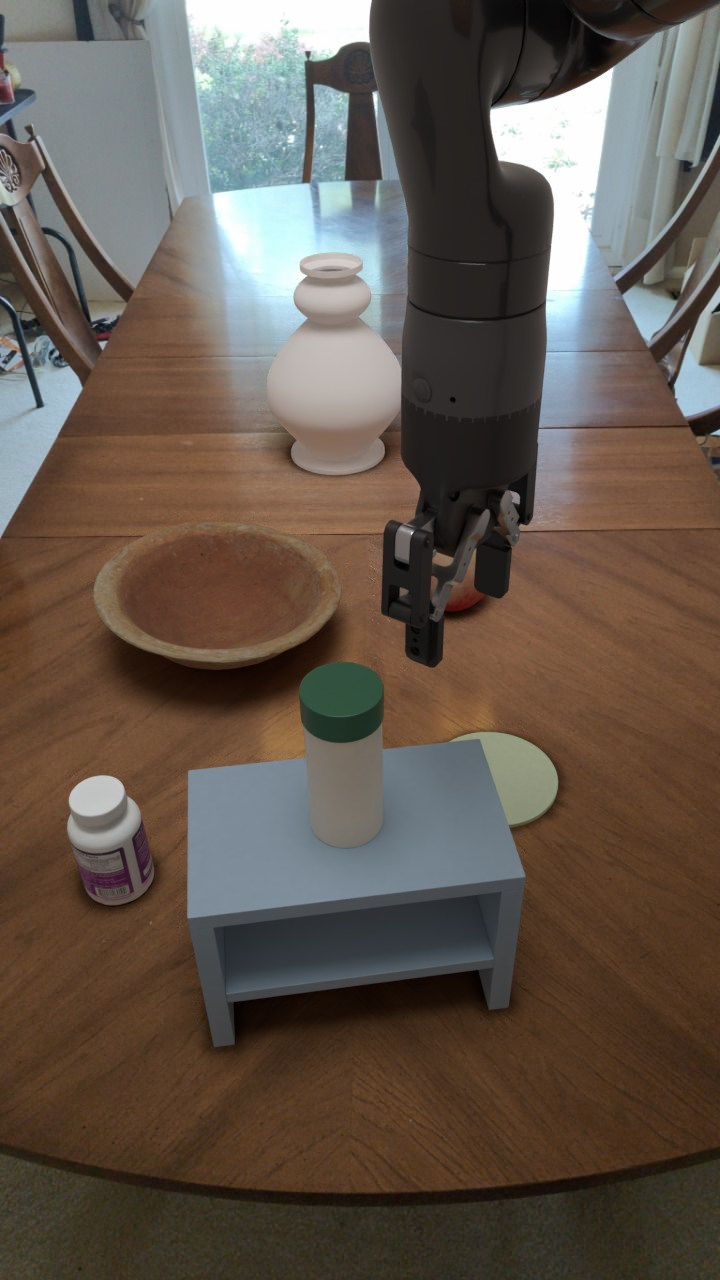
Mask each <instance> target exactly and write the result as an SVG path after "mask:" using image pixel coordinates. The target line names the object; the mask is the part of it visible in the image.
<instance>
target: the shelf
mask: <svg viewBox="0 0 720 1280" xmlns="http://www.w3.org/2000/svg"><path fill="white" fill-rule="evenodd" d="M186 858H187V862H186V864H187V865H186V866H187V868H186V869H187V873H186V874H187V875H186V876H187V877H186V878H187V881H186V885H187V886H186V888H187V889H186V891H187V892H186V898H187V899H186V908H187V909H186V919H187V924H188V929H189V934H190V939H191V943H192V947H193V952H194V957H195V963H196V967H197V972H198V977H199V982H200V987H201V992H202V996H203V1002H204V1006H205V1010H206V1015H207V1020H208V1025H209V1030H210V1035H211V1039H212V1045H213V1048H219V1047H220V1048H221V1047H226V1046H234V1045H235V1044H236V1033H235V1008H234V1007H235V1006H234V1003H235V1002H244V1001H250V1000H251V1001H252V1000H257V999H266V998H274V997H281V996H290V995H297V994H305V993H313V992H321V991H327V990H336V989H342V988H350V987H356V986H357V987H358V986H365V985H372V984H381V983H389V982H395V981H396V982H397V981H403V980H404V981H405V980H410V979H419V978H426V977H433V976H442V975H449V974H456V973H463V972H471V971H478V975H479V979H480V982H481V986H482V989H483V990H482V991H483V994H484V997H485V1001H486V1004H487V1008H488V1011H493V1010H500V1009H507V1008H509V1006H510V1000H511V992H512V984H513V977H514V976H513V975H514V968H515V961H516V954H517V948H518V947H517V946H518V937H519V930H520V925H521V924H520V923H521V916H522V909H523V900H524V894H525V886H526V879H527V875H526V873H525V870H524V867H523V863H522V862H521V858H520V855H519V851H518V849H517V846H516V843H515V840H514V836H513V834H512V830H511V828H509V825H508V822H507V819H506V816H505V813H504V810H503V807H502V804H501V801H500V798H499V795H498V792H497V789H496V786H495V783H494V780H493V777H492V774H491V771H490V768H489V765H488V762H487V759H486V756H485V753H484V750H483V747H482V744H481V741H480V739H472V740H463V741H453V742H449V741H446V742H437V743H435V742H434V743H427V744H418V745H409V746H399V747H391V748H383V824H382V827H381V830H380V831H379V833H378V834H377V835H376V837H375V838H373V839H372V840H371V841H369V842H368V843H366V844H364V845H361V846H358V847H353V848H338V847H334V846H330V845H328V844H326V843H324V842H323V841H321V840H320V839H319V838H318V837H317V836H316V835H315V834H314V832H313V830H312V828H311V824H310V811H309V797H308V784H307V771H306V757H299V758H288V759H280V760H272V761H271V760H270V761H263V762H252V763H243V764H233V765H225V766H217V767H216V766H215V767H207V768H197V769H189V770H187V857H186Z"/></svg>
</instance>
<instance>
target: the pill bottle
mask: <svg viewBox="0 0 720 1280" xmlns="http://www.w3.org/2000/svg"><path fill="white" fill-rule="evenodd" d="M68 806H69V811H70V814H69V816H68V820H67V824H66V832H67V837H68V840H69V843H70V846H71V849H72V852H73V855H74V858H75V861H76V864H77V868H78V871H79V874H80V877H81V880H82V883H83V886H84V889H85V891H86V893H87V894H88V896H89V897H90V898H91V899H92V900H94V901H95V902H97V903H99V904H102V905H104V906H120V905H123V904H128V903H130V902H132V901H135V900H137V899H139V898H140V897H141V896H143V894H145V893H146V892H147V891H148V889H149V887H150V886H151V884H152V883H153V881H154V876H155V867H154V861H153V856H152V853H151V847H150V844H149V841H148V836H147V832H146V828H145V825H144V820H143V817H142V812H141V810H140V807H139V806H138V804H137V803H136V802H135V800H133V798H131V797H130V796H128V795H127V791H126V789H125V786H124V784H123V783H122V781H120V780H119V778H116V777H115V776H111V775H103V774H101V775H94V776H91V777H87V778H86V779H84V780H82V781H80V782H79V783H77V784H76V785H75V786H74V788H72V790H71V792H70V793H69V796H68Z"/></svg>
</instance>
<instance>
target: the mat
mask: <svg viewBox="0 0 720 1280" xmlns="http://www.w3.org/2000/svg"><path fill="white" fill-rule="evenodd" d="M472 739H480V741H481V744H482V747H483V750H484V753H485V756H486V759H487V762H488V765H489V768H490V771H491V774H492V777H493V780H494V783H495V786H496V789H497V792H498V795H499V798H500V801H501V804H502V807H503V810H504V813H505V816H506V819H507V822H508V825H509V828H510V829H512V828H517V827H521V826H525V825H528V824H530V823H532V822H534V821H536V820H538V819H539V818H541V817H542V816H543V815H544V814H545V813H547V812H548V811H549V809H551V807H552V806H553V804H554V803H555V800H556V798H557V794H558V790H559V776H558V772H557V769H556V767H555V766H554V764H553V762H552V760H551V759H550V757H549V756H548V755H547V754H546V753H545V752H544V751H543V750H541V749H540V748H539V747H538V746H537V745H535V744H533V743H532V742H530V741H528V740H525V738H524V739H523V738H521V737H519V736H515V735H513V734H508V733H504V732H496V731H477V732H472V733H467V734H464V735H463V734H462V735H459V736H457V737H455V738H453V739H451V740H449V741H448V742H453V741H463V740H472Z"/></svg>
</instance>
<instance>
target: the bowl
mask: <svg viewBox="0 0 720 1280" xmlns="http://www.w3.org/2000/svg"><path fill="white" fill-rule="evenodd" d="M92 589H93V590H92V598H93V606H94V608H95V611H96V613H97V615H98V618H99V619H100V620H101V621H102V623H103V624H104V625H105V627H107V628H108V630H109V631H111V632H112V633H113V634H114V635H116V636H117V637H118V638H120V639H122V640H123V641H124V642H126V643H128V644H130V645H132V646H133V647H136V648H138V649H140V650H142V651H145V652H146V653H147V652H148V653H151V654H153V655H158V656H161V657H163V658H165V659H167V660H169V661H171V662H173V663H176V664H178V665H181V666H184V667H188V668H193V669H200V670H212V671H218V670H219V671H221V670H230V669H231V670H233V669H239V668H243V667H249V666H253V665H258V664H260V663H263V662H266V661H268V660H271V659H274V658H275V657H277V656H279V655H281V654H282V653H284V652H286V651H288V650H291V649H294V648H295V647H298V646H299V645H301V644H303V643H305V642H307V641H308V640H310V639H311V638H312V637H313V636H314V635H316V634H317V633H318V632H319V631H320V630H321V629H322V628H323V627H324V626H325V625H326V624H327V622H328V621H329V620H330V619H331V618H332V617H333V616H334V614H335V612H336V611H337V609H338V606H339V604H340V603H341V602H340V601H341V599H342V591H343V589H342V582H341V578H340V574H339V573H338V570H337V569H336V567H335V566H334V564H333V563H332V562H331V560H330V558H329V557H328V556H327V555H326V554H325V553H324V552H323V551H322V550H320V549H318V548H317V547H316V546H315V545H313V544H311V543H309V542H307V541H305V540H304V539H301V538H300V537H298V536H296V535H292V534H290V533H287V532H285V531H282V530H279V529H275V528H272V527H267V526H263V525H259V524H255V523H246V522H235V521H202V522H195V521H188V522H184V523H183V522H182V523H180V524H177V525H174V526H170V527H167V528H163V529H159V530H156V531H154V532H151V533H149V534H146V535H143V536H141V537H139V538H138V539H136V540H133V541H131V542H129V543H128V544H127V545H124V546H123V547H122V548H120V549H119V550H118V551H117V552H116V553H114V554H113V555H112V556H111V557H109V559H108V560H107V561H106V562H105V563H104V564H103V566H102V567H101V568H100V569H99V572H98V573H97V576H96V578H95V580H94V584H93V588H92Z"/></svg>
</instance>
